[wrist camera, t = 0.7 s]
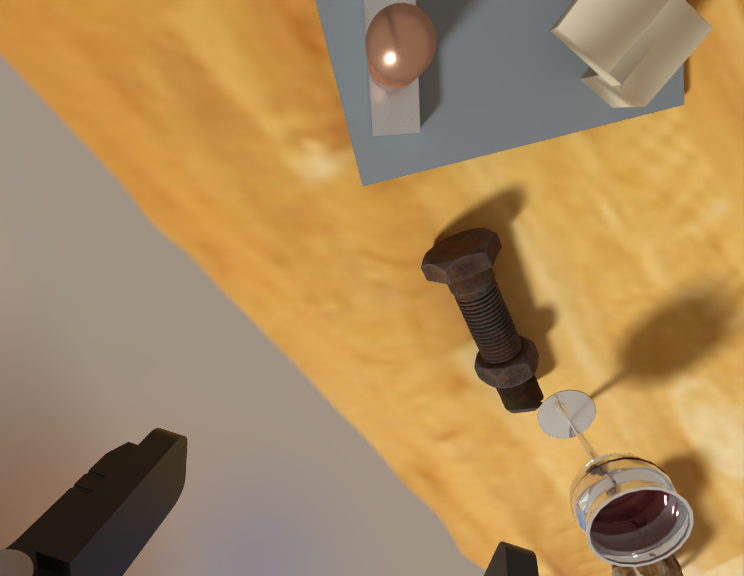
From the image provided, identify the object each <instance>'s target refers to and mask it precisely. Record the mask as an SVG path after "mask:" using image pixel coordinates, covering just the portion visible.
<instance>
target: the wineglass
mask: <svg viewBox="0 0 744 576" xmlns="http://www.w3.org/2000/svg"><path fill="white" fill-rule="evenodd" d="M595 413H596V411H595V405H594V403H593V401H592V399H591V398H590V397H589V396H587V395H586V394H585V393H582V392H579V391H572V390H567V391H562V392H558V393H556V394H554V395H552V396H550V397H549V398H548V399H547V400H546V401H545V402H544V403H543V404H542V406H541V408H540V410H539V414H538V421H539V425H540V427H541V429H542V430H543V431H544V432H545V433H546V434H548V435H549V436H552V437H555V438H565V439H566V438H571V437H575V436H577V438H578V440H579V441H580V443H581V445H582V447H583V449H584V450H585V452H586V454H587V456H588V458H589V459H590V461H589V462H587V463H586V464H585V465H584V466H583V467H582V468H581V469H580V470H579V471H578V473H577V474H576V476H575V478H574V479H573V481H572V485H571V489H570V502H571V508H572V512H573V516H574V519H575V521H576V523H577V524H578V526H579V527H580V529H581V530H582V531H583V532H584V534H585V535H586V536H587V541H588V545H589V547H590V548H591V550H592V551H593V553H594V554H595V555H596V556H597V557H599V558H600V559H602V560H603V561H605V562H607V563H610V564H613V565H617V566H622V567H638V566H643V565H649V564H653V563H655V562H657V561H660V560H662V559H665V558H667V557H668V556H670V555H671V554H672V553H674V552H675V551H677V550H678V549H679V548H680V547H681V546H682V545H683V543H684V542H685V541H686V540H687V539H688V537H689V535H690V532H691V530H692V527H693V524H694V523H693V511H692V509H691V507H690V506H689V504H688V502H687V501H686V500H685V499H684V498H683V497H681V496H680V495H679V494H677V492H676V489H675V487H674V486H673V484H672V482H671V480H670V478H669V477H668V476H667V475H666V474H665V472H664V471H663V470H661V469H660V468H659V467H657V466H656V465H655V464H653V463H652V462H650V461H648V460H646V459H644V458H643V457H640V456H637V455H634V454H631V453H610V454H605V455H600V456H599V455H598V454H597V453H596V451H595V450H594V449H593V447H592V446H591V445H590V443H589V442H588V440H587V439H586V438H585V436H584V435H583V434H582V433H583V432H584V431H585V430H586V429H587V428H589V427H590V425H591V424H592V422H593V420H594V417H595Z"/></svg>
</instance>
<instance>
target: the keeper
mask: <svg viewBox="0 0 744 576" xmlns="http://www.w3.org/2000/svg"><path fill="white" fill-rule="evenodd" d="M712 29H713V27H712V26H711V25H710V24H709V23H708V22H707V21H706V20H705V19H704V18H703V17H702V16H701V15H700V14H699V13H698V12H697V11H696V10H695V9H694V8H693V7H692V6H691V5H690V4H689V3H688V2H687V1H686V0H573V1H572V3H571V4H570V5H569V6H568V8H567V9H566V10H565V12H564V13H563V14H562V16H561V17H560V18H559V20H558V21H557V22H556V24H555V25H554V26H553V28H552V29H551V30H550V31H551V32H552V33H553V34H554V35H555V36H556V37H558V38H559V39H560V40H561V41H562V42H563V43H564V44H565V45H567V46H568V47H569V48H570V49H571V50H572V51H573V52H574V53H575V54H577V55H578V56H579V57H580V58H581V59H582V60H583V61H584V62H585V63H587V64H588V65H589V66H590V67H589V68H588V69H587V70H586V72H585V73H584V74H583V75H582V76H581V78H580V80H581V81H583V82H584V83H585V84H586V85H587V86H588V87H589V88H591V89H592V90H593V91H594V92H595V93H596V94H597V95H598V96H600V97H601V98H602V99H603V100H604V101H605V102H606V103H607V104H609V105H610V106H611V107H612V108H619V107H646V106H647V104H648V103H649V102H650V101H651V100H652V99H653V98H654V96H655V95H656V94H657V93H658V92H659V91H660V89H661V88H662V87H663V86H664V85H665V84H666V83H667V81H668V80H669V79H670V78H671V77H672V76H673V74H674V73H675V72H676V71H677V70H678V69H679V67H680V66H681V65H682V64H683V63H684V62H685V61H686V59H687V58H688V57H689V56H690V55H691V54H692V52H693V51H694V50H695V49H696V48H697V47H698V45H699V44H700V43H701V42H702V41H703V40H704V39H705V37H706V36H707V35H708V34H709V33H710V32H711V30H712Z"/></svg>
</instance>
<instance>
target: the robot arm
mask: <svg viewBox="0 0 744 576" xmlns="http://www.w3.org/2000/svg"><path fill="white" fill-rule="evenodd" d="M186 457H187V438H186V437H185V436H182V435H179V434H176V433H173V432H170V431H167V430H164V429H161V428H156V429H154V430H153V431H152V432H150V433H149V434H148V435H147V437H145V439H144V440H143V441H142V442H141V443H140V444H139V445H136V444H133V443H130V442H128V443H126V444H124V445H122V446H120V447H118V448H116V449H114V450H112V451H110V452H108V453H107V454H105V455H104V456H103V457H102V458H101V459H100V460H99V461H98V462H97V463H96V464H95V465H94V466H93V467H92V468H91V469H90V470H89V472H88V473H87V474H84V475H83V476H82V477H81V478H80V479H79V480H78V481H77V482H76V483H75V485H74V487H73V488H70V489H69V490H68V491H67V492H66V493H65V494H64V495H63V496H62V497H61V498H60V499H58V501H56V502H55V503H54V504H53V505H52V506H51V507H50V508H49V509H48V510H47V511H46V512H45V513H44V514H43V515H42V516H41V517H40V518H39V519H38V520H37V521H36V522H35V523H34V524H33V525H31V527H29V528H28V529H27V530H26V531H25V532H24V533H23V534H22V535H21V536H20V537H19V538H18V539H17V540H16V541H15V542H14V543H13V544H11V545H10V546H9V547H7V548H6V549H2V550H0V576H123V574H124V573H125V572H126V570H127V569H128V568H129V566H130V565H131V564H132V562H133V561H134V559H135V558H136V557H137V555H138V554H139V553H140V551H141V550H142V549H143V547H144V546H145V545H146V543H147V542H148V540H149V539H150V538H151V537H152V535H153V534H154V532H155V531H156V530H157V528H158V527H159V526H160V524H161V523H162V522H163V520H164V519H165V518H166V516H167V515H168V513H169V512H170V511H171V509H172V508H173V507H174V505H175V504H176V502H177V500H178V498H179V496H180V495H181V492H182V490H183V487H184V483H185V475H186ZM484 576H539V574H538V566H537V559H536V555H535V553H534V552H533V551H530V550H527V549H524V548H521V547H518V546H515V545H512V544H509V543H506V542H503V541H501V542H500V543H499V545H498V547H497V549H496V551H495V553H494V555H493V557H492V559H491V562H490V564H489V566H488V568H487V570H486V572H485V574H484Z"/></svg>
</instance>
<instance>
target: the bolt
mask: <svg viewBox="0 0 744 576" xmlns="http://www.w3.org/2000/svg"><path fill="white" fill-rule="evenodd" d="M501 248H502V245H501V243H500V240H499V238H498V236H497V233H495V232H493V231H491V230H488V229H485V228H477V229H473V230H468V231H464V232H461V233H458V234H456V235H454V236H451V237H449V238H447V239H445V240H443V241H441V242H440V243H438V244H436V245H435V246H434V247H433V248H431V249H430V250H429V251H428V252H427V253H426V254H425V256H424V258H423V261H422V265H421V269H422V271H423V273H424V275H425V277H426V279H427V280H428V281H434V282H439V283H444V284H447V285H448V287H449V289H450V291H451V293H452V294H453V295H454V296H455V299H456V301H457V303H458V306H459V307H460V310H461V311H462V314H463V317H464V318H465V321H466V323H467V325H468V328H469V329H470V332H471V334H472V336H473V339H474V340H475V343H476V344H477V346H478V349H479V352H478V353H477V356H476V360H475V366H474V368H475V370H476V372H477V375H478V377H479V378H480V379H481V380H482V381H484V382H485V383H487V384H488V385H490V386H492V387H496V389H497V391H498V393H499V395H500V397H501V399H502V402H503V404H504V405H505V408H506V409H507V410H508V411H510V412H511V413H520V412H529V411H535V410H536V409H538V408H539V407H540V405H541V404H542V402H540V401H541V400H543V397H544V396H543V394H542V391H541V389H540V387H539V385H538V382H537V379H536V377H535V375H534V373H535V372H536V369H537V366H538V358H539V354H538V351H537V349H536V346H535V344H534V343H533V342H532V341H530V340H528V339H526V338H524V337H522V336H518V334H517V331H516V328H515V326H514V324H513V321H512V319H511V316H510V314H509V312H508V309H507V308H506V305H505V303H504V301H503V298H502V295H501V293H500V290H499V287H498V286H497V283H496V280H495V278H494V277H495V274H494V272H493V269H492V265H493V263H494V261H495V259H496V257H497V255H498V253H499V251H500V249H501Z"/></svg>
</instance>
